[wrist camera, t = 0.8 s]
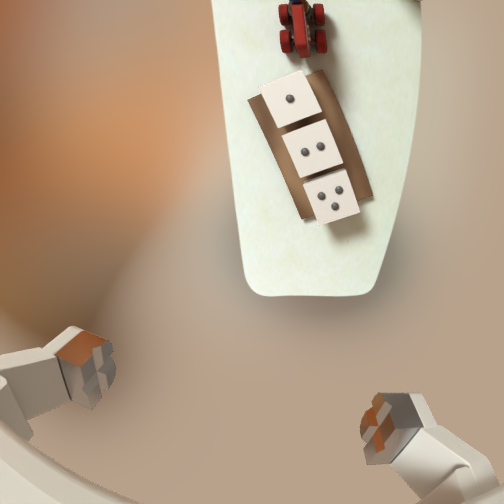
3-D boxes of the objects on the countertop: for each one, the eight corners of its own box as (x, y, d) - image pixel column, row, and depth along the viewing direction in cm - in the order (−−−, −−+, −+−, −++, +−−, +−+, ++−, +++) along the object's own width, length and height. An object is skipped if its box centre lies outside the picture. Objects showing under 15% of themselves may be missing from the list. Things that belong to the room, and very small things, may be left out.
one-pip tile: (302, 72, 35) (301, 69, 32) (321, 111, 37) (322, 111, 35) (261, 89, 37) (257, 87, 35) (280, 127, 40) (277, 128, 37)
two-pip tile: (324, 119, 38) (325, 119, 35) (341, 160, 40) (343, 163, 37) (283, 134, 40) (281, 135, 38) (301, 174, 42) (299, 178, 40)
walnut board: (322, 71, 36) (322, 67, 34) (371, 193, 44) (375, 199, 41) (249, 100, 41) (244, 99, 38) (301, 216, 49) (300, 223, 46)
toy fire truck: (322, 0, 30) (322, -26, 21) (327, 63, 36) (330, 49, 27) (279, 0, 31) (269, -25, 22) (283, 63, 37) (274, 49, 28)
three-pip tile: (344, 167, 40) (346, 170, 38) (357, 206, 43) (360, 212, 40) (303, 181, 43) (303, 185, 40) (319, 219, 45) (319, 226, 43)
